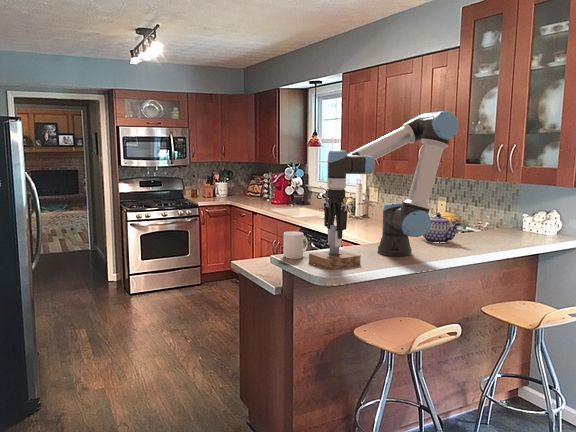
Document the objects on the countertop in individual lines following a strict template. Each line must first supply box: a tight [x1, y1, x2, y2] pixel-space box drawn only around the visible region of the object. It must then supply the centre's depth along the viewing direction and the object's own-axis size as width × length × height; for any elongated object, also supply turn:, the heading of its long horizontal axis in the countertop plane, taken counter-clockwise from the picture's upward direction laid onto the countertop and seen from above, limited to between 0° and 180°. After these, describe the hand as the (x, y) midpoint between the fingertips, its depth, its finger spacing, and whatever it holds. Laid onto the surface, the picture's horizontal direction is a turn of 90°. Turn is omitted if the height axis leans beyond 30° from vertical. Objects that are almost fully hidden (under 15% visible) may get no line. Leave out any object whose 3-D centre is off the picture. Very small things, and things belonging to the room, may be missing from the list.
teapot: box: [422, 212, 461, 243], centre depth 252 cm, size 25×15×15 cm, turn 37°
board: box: [308, 248, 361, 271], centre depth 203 cm, size 16×14×4 cm
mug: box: [283, 231, 309, 260], centre depth 215 cm, size 9×12×11 cm
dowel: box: [328, 224, 340, 255], centre depth 202 cm, size 4×4×12 cm
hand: (334, 245), depth 202 cm, fingers closed on dowel, 4 cm apart
